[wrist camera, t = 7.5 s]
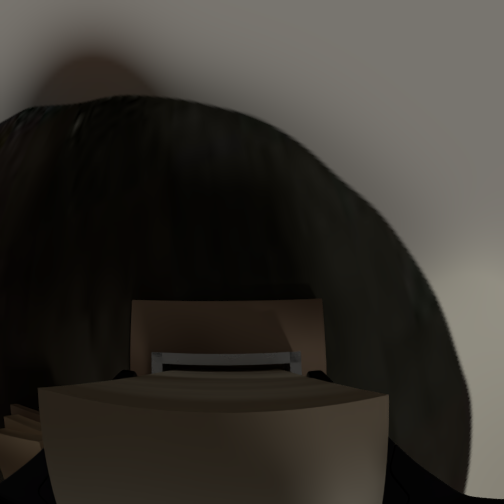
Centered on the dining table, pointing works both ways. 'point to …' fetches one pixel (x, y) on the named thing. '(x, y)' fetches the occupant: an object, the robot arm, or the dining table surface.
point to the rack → (223, 337)
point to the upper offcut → (17, 449)
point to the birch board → (215, 439)
